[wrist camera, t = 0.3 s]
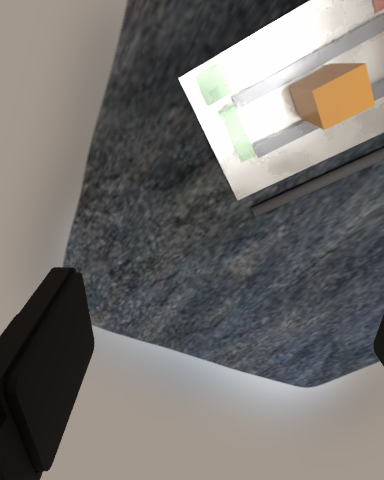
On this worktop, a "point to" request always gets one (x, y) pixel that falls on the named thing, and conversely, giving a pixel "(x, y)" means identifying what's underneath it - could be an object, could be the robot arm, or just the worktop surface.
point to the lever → (333, 94)
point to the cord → (319, 182)
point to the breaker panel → (286, 91)
